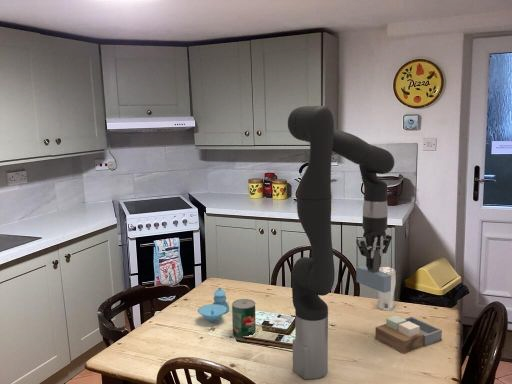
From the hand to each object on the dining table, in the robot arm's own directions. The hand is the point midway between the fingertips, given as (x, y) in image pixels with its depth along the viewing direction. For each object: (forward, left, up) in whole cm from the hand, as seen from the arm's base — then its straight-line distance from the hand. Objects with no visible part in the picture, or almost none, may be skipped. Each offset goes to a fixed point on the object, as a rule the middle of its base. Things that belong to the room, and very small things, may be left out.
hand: (373, 267), depth 150 cm
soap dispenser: (-35, +45, -25) cm, 62 cm away
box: (+16, -5, -25) cm, 30 cm away
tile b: (+8, -2, -21) cm, 23 cm away
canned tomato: (-33, +27, -25) cm, 49 cm away
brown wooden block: (+7, -5, -25) cm, 26 cm away
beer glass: (+24, +18, -25) cm, 39 cm away
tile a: (+8, -8, -21) cm, 24 cm away
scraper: (0, 0, -6) cm, 6 cm away
